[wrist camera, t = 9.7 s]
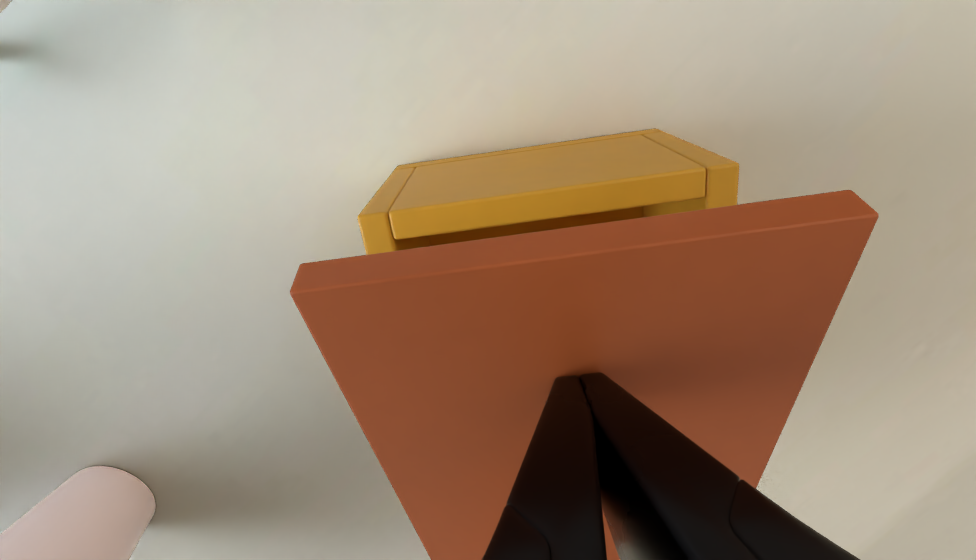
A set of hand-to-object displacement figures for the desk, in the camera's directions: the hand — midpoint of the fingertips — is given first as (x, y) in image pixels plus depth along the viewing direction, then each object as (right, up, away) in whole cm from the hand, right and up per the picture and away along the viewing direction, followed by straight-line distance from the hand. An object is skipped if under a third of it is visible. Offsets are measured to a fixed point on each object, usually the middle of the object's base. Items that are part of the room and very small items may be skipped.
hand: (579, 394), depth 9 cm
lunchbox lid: (0, -1, +2) cm, 3 cm away
